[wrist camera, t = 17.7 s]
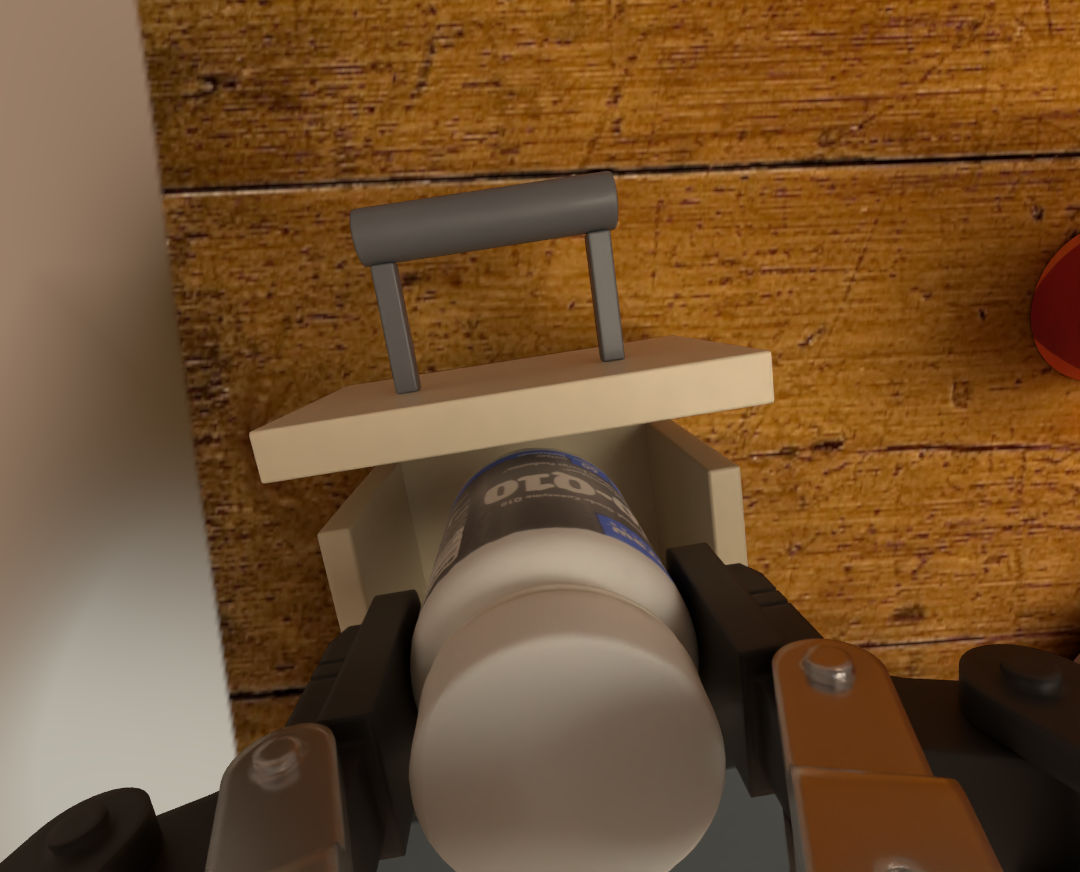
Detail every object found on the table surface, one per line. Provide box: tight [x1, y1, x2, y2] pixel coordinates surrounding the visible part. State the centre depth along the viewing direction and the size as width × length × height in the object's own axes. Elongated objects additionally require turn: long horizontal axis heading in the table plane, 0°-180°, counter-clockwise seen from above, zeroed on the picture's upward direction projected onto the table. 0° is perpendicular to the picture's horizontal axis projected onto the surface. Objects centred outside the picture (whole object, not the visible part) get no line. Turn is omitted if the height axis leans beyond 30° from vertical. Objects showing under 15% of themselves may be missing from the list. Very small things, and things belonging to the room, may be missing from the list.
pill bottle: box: [409, 448, 726, 872], centre depth 11 cm, size 5×5×8 cm
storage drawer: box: [249, 171, 774, 633], centre depth 18 cm, size 18×12×8 cm, turn 9°
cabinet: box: [377, 744, 789, 872], centre depth 20 cm, size 15×13×10 cm
